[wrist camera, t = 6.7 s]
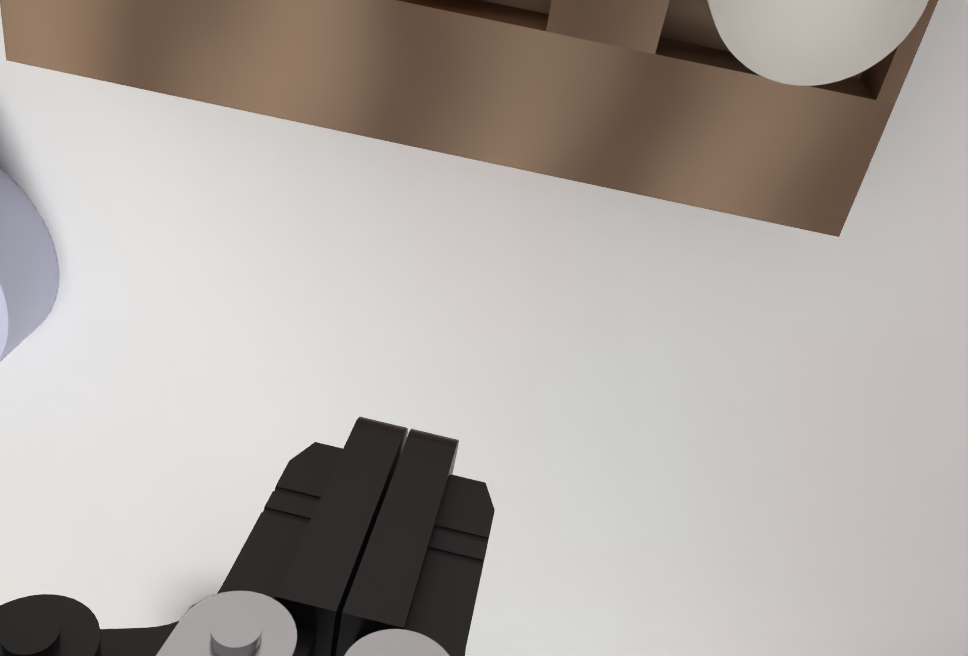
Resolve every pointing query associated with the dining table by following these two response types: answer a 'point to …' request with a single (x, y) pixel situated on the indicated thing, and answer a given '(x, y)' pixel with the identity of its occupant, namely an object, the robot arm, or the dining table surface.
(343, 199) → the dining table surface
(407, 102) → the brown slotted panel
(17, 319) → the tape dispenser
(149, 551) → the dining table surface
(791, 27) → the white button
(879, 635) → the dining table surface
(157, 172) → the dining table surface
